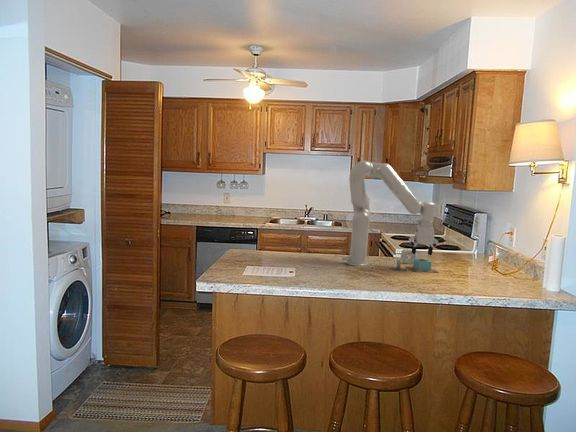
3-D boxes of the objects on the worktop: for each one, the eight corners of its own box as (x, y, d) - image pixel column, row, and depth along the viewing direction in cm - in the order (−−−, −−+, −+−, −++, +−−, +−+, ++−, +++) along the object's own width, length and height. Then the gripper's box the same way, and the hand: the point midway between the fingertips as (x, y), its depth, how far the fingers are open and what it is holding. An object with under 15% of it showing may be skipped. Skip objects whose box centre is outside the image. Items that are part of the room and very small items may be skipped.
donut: (415, 264, 265) (417, 248, 264) (417, 266, 262) (419, 249, 261) (399, 263, 265) (400, 247, 264) (400, 265, 262) (402, 248, 261)
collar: (418, 270, 243) (419, 261, 242) (412, 267, 250) (413, 258, 249) (430, 270, 244) (431, 261, 243) (424, 267, 251) (425, 259, 250)
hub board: (414, 273, 240) (415, 261, 239) (405, 268, 252) (406, 256, 251) (438, 274, 242) (439, 262, 242) (427, 269, 254) (429, 257, 253)
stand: (393, 272, 239) (394, 262, 238) (386, 268, 249) (387, 258, 248) (410, 273, 241) (411, 262, 240) (402, 269, 250) (403, 258, 250)
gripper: (414, 223, 239) (410, 254, 241) (443, 226, 242) (439, 256, 244) (408, 221, 246) (404, 251, 248) (436, 224, 249) (432, 253, 251)
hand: (421, 254), depth 246 cm, fingers open, 9 cm apart
